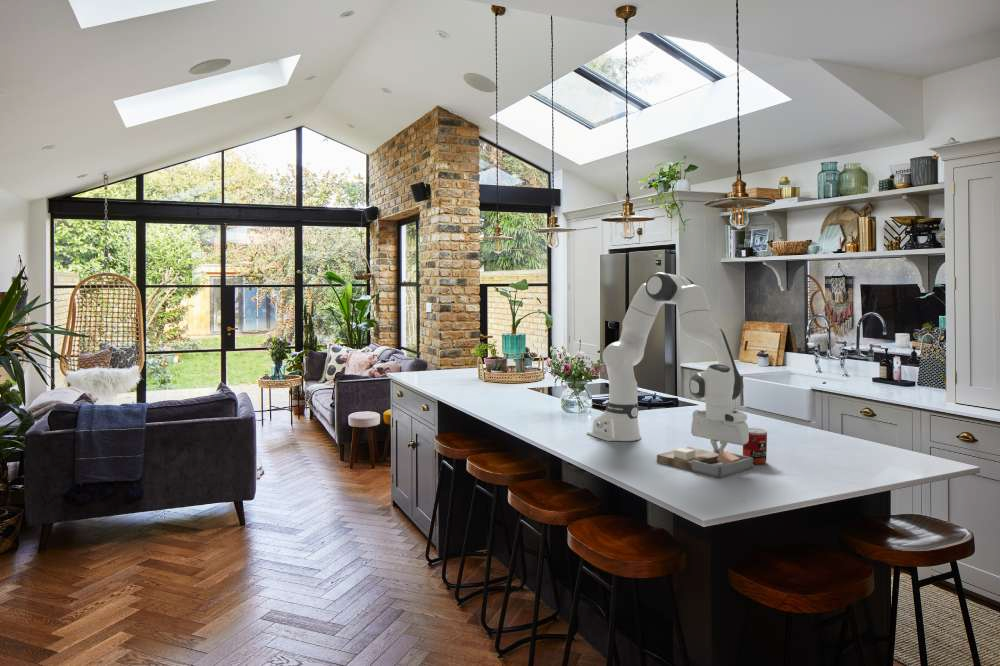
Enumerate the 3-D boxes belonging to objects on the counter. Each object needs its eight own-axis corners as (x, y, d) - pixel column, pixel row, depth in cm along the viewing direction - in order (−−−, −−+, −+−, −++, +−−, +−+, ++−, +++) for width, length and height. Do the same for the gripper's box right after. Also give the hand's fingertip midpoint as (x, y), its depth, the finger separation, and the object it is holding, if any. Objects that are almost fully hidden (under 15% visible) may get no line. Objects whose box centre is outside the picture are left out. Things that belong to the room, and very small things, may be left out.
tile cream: (673, 456, 223) (673, 449, 223) (682, 454, 226) (683, 447, 226) (686, 459, 219) (686, 452, 219) (695, 457, 223) (695, 450, 222)
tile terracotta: (716, 460, 221) (718, 453, 220) (725, 457, 224) (727, 451, 223) (729, 467, 217) (731, 460, 216) (737, 464, 220) (739, 458, 219)
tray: (691, 471, 215) (691, 460, 215) (725, 461, 227) (725, 451, 226) (719, 478, 207) (719, 467, 207) (752, 467, 219) (753, 457, 218)
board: (656, 461, 227) (657, 454, 226) (688, 453, 238) (688, 446, 238) (691, 470, 216) (691, 463, 215) (722, 461, 227) (723, 454, 227)
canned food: (752, 465, 221) (752, 433, 221) (737, 459, 229) (738, 428, 228) (771, 464, 223) (772, 432, 223) (756, 458, 231) (757, 427, 230)
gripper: (687, 409, 228) (687, 449, 229) (740, 418, 212) (740, 460, 213) (698, 407, 232) (697, 446, 233) (751, 416, 216) (750, 457, 217)
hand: (718, 453), depth 223 cm, fingers closed
